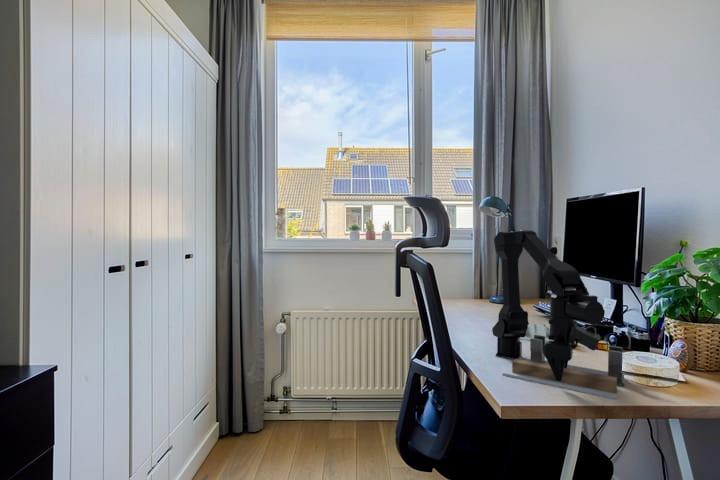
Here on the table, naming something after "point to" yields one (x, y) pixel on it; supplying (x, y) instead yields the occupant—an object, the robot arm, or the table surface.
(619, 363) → the dark grey u-shaped stand
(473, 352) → the table surface
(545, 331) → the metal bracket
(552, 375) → the walnut bar
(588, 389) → the blue-grey mat
